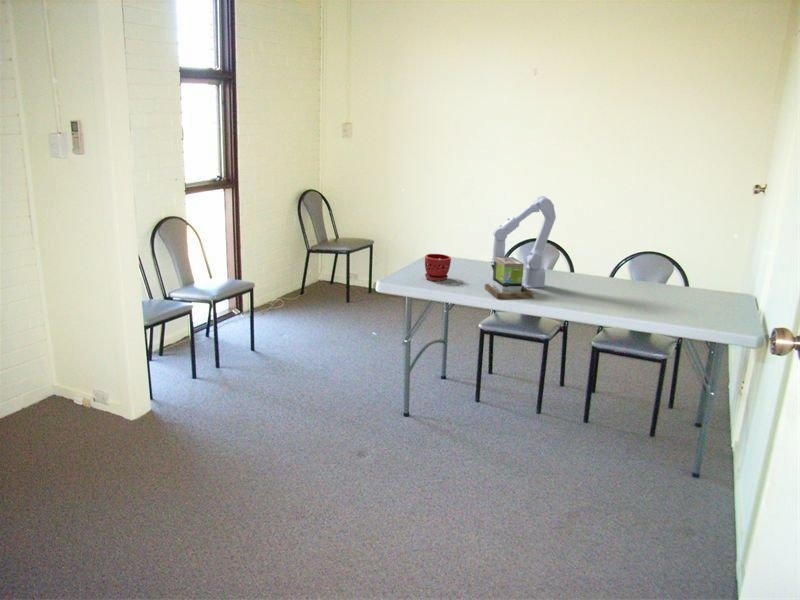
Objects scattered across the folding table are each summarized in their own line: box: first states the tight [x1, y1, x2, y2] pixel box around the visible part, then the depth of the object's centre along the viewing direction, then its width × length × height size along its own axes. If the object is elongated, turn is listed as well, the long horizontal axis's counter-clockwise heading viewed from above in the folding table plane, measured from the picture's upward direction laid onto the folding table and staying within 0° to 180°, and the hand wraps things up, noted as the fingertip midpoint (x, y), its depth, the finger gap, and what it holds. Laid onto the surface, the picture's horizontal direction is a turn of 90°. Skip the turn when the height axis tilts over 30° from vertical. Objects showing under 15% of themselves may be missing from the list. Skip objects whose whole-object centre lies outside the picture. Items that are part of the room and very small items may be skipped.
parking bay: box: [484, 283, 534, 300], centre depth 319 cm, size 18×18×2 cm
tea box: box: [491, 256, 525, 293], centre depth 324 cm, size 15×10×15 cm, turn 11°
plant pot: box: [424, 253, 452, 282], centre depth 342 cm, size 13×13×12 cm
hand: (497, 279), depth 335 cm, fingers closed
